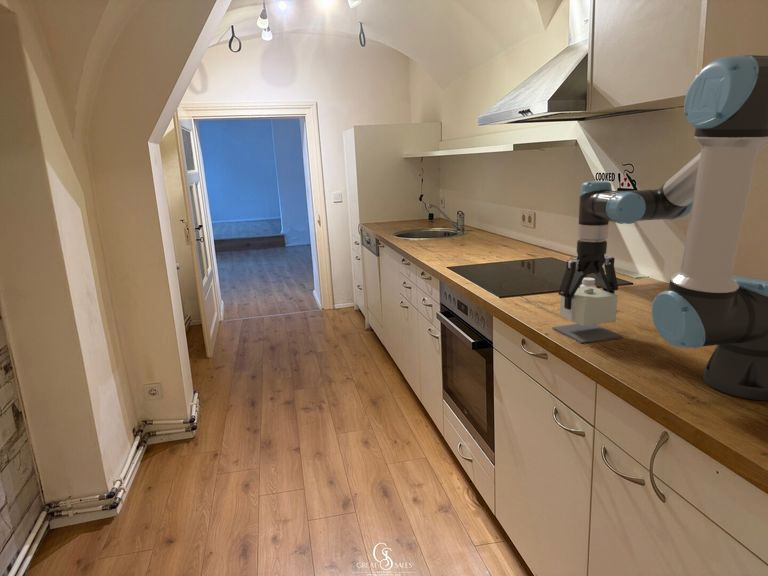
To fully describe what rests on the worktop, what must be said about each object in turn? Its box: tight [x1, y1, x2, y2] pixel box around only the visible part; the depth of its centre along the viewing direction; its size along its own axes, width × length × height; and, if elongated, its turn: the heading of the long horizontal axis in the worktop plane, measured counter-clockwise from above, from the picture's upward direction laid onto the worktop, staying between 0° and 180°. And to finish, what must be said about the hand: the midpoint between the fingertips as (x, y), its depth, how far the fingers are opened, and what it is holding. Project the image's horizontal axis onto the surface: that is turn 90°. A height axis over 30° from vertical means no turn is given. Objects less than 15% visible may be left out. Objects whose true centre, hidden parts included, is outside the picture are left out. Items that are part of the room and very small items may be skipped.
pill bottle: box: [579, 277, 597, 288], centre depth 170 cm, size 5×5×9 cm
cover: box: [559, 287, 618, 326], centre depth 141 cm, size 10×10×8 cm
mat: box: [552, 323, 623, 344], centre depth 143 cm, size 13×13×1 cm
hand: (586, 317), depth 142 cm, fingers closed on cover, 10 cm apart
